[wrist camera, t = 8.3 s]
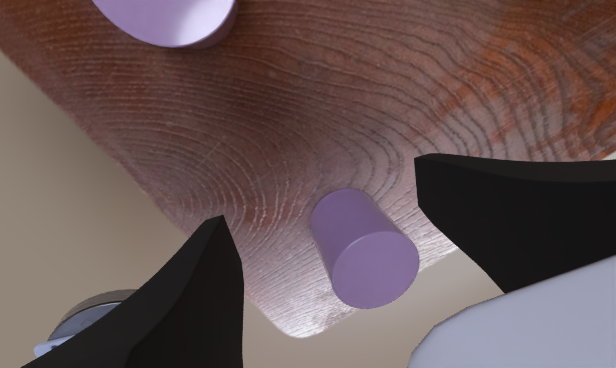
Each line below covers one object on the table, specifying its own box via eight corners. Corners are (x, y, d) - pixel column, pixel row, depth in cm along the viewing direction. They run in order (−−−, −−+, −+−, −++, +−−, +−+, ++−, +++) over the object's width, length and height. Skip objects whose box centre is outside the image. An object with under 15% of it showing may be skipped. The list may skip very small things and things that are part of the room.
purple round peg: (313, 257, 24) (336, 318, 18) (304, 195, 21) (326, 243, 16) (378, 242, 24) (419, 297, 19) (376, 181, 22) (420, 222, 17)
